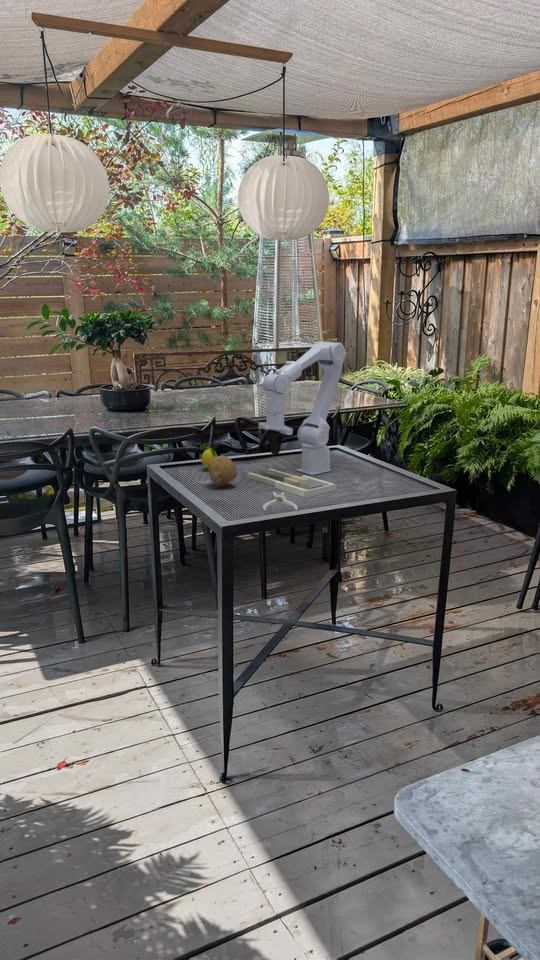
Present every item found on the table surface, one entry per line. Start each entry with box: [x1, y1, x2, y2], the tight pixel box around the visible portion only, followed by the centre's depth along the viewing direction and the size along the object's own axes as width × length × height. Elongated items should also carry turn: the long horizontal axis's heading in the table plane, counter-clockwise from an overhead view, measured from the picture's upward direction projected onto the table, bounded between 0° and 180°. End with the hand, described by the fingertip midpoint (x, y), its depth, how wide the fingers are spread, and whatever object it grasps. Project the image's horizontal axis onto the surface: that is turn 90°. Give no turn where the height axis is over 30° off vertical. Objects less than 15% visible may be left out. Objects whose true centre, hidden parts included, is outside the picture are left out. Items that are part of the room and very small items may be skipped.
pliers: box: [262, 491, 299, 512], centre depth 204 cm, size 10×2×15 cm
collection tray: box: [274, 475, 337, 499], centre depth 218 cm, size 12×14×2 cm
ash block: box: [283, 475, 308, 487], centre depth 220 cm, size 5×6×3 cm
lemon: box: [199, 441, 218, 470], centre depth 240 cm, size 7×6×10 cm
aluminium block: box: [298, 479, 323, 490], centre depth 216 cm, size 5×6×3 cm
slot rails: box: [246, 467, 296, 487], centre depth 229 cm, size 10×15×2 cm, turn 40°
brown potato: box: [207, 454, 238, 488], centre depth 219 cm, size 9×9×10 cm
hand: (275, 453), depth 226 cm, fingers closed
